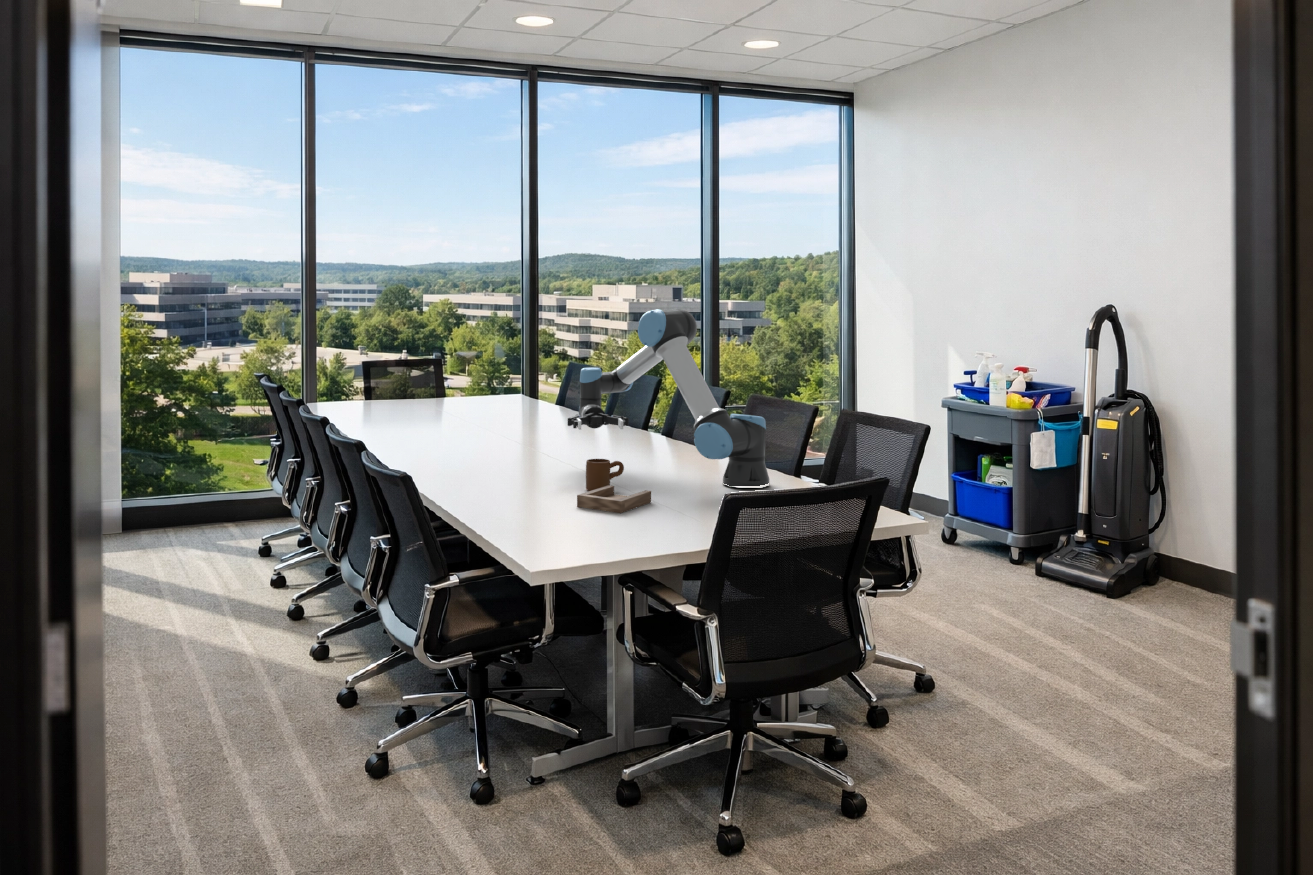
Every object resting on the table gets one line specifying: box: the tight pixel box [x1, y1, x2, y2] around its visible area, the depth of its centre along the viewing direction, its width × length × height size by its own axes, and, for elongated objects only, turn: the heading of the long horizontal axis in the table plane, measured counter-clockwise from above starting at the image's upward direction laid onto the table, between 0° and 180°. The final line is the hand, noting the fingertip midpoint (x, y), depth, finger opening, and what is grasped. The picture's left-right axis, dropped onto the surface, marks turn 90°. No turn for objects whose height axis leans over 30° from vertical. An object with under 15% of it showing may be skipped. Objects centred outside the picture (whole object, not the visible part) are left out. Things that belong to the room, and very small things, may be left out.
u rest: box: [576, 484, 652, 514], centre depth 295 cm, size 15×17×4 cm
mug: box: [585, 458, 625, 492], centre depth 315 cm, size 12×8×9 cm, turn 101°
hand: (601, 425), depth 323 cm, fingers open, 13 cm apart
